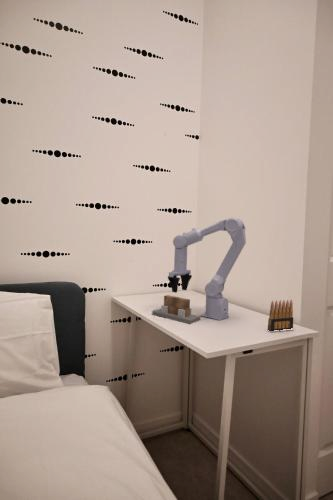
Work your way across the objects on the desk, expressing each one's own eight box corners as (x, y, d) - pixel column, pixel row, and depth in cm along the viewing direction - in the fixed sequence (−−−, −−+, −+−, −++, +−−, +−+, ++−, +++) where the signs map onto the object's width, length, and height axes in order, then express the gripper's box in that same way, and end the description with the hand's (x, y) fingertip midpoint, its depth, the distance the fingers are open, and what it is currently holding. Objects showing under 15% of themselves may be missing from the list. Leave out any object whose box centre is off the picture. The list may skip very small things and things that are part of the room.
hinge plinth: (200, 319, 133) (201, 309, 133) (189, 324, 127) (190, 313, 127) (163, 311, 146) (163, 301, 145) (152, 314, 139) (152, 304, 139)
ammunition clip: (289, 328, 125) (291, 298, 124) (293, 330, 123) (294, 300, 123) (267, 331, 122) (268, 300, 121) (270, 332, 120) (272, 301, 119)
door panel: (189, 315, 133) (190, 299, 133) (185, 317, 131) (185, 300, 130) (167, 310, 141) (167, 295, 140) (162, 312, 138) (163, 296, 138)
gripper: (182, 260, 153) (181, 287, 154) (163, 261, 142) (162, 291, 143) (194, 261, 149) (193, 289, 150) (176, 263, 137) (175, 294, 138)
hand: (179, 291), depth 146 cm, fingers open, 7 cm apart
